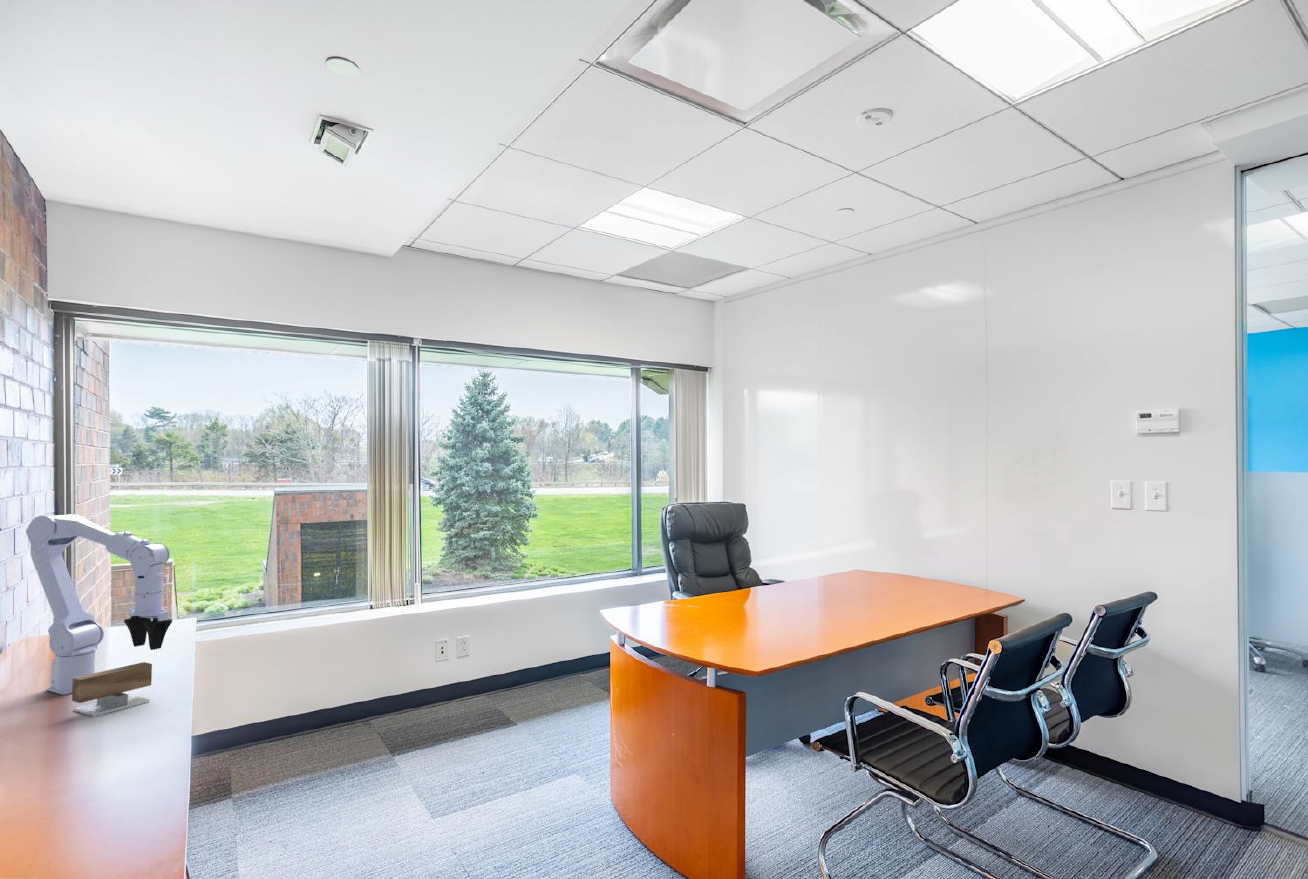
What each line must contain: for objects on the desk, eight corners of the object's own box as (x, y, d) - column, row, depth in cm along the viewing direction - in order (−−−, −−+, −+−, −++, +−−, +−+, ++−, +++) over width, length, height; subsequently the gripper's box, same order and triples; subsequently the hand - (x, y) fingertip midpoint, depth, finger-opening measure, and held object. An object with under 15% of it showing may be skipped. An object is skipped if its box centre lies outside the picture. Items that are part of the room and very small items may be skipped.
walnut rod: (71, 700, 149) (72, 677, 150) (143, 683, 162) (143, 662, 162) (79, 703, 148) (80, 680, 148) (151, 685, 160) (151, 663, 160)
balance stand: (73, 710, 152) (73, 697, 152) (129, 696, 161) (129, 683, 162) (93, 716, 148) (93, 702, 148) (149, 701, 157) (150, 688, 158)
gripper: (115, 593, 169) (113, 647, 169) (146, 597, 163) (144, 654, 162) (146, 588, 175) (145, 641, 175) (178, 592, 169) (176, 647, 168)
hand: (147, 647), depth 169 cm, fingers open, 7 cm apart
